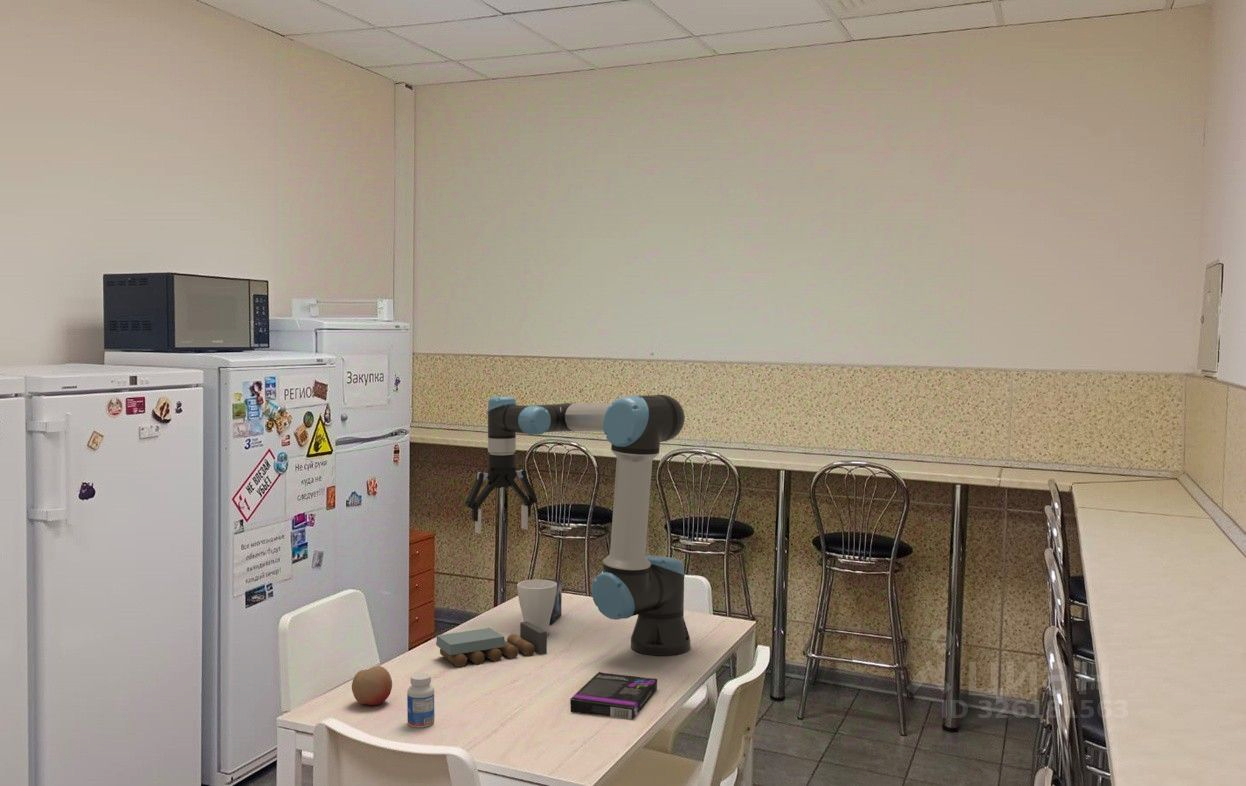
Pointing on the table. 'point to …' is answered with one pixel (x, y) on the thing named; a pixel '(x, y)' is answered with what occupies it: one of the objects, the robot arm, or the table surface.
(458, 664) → the roller bed
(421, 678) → the pill bottle
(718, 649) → the table surface
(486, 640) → the slab
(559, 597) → the small box
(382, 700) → the fruit
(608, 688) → the box
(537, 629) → the bar
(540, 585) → the cup
